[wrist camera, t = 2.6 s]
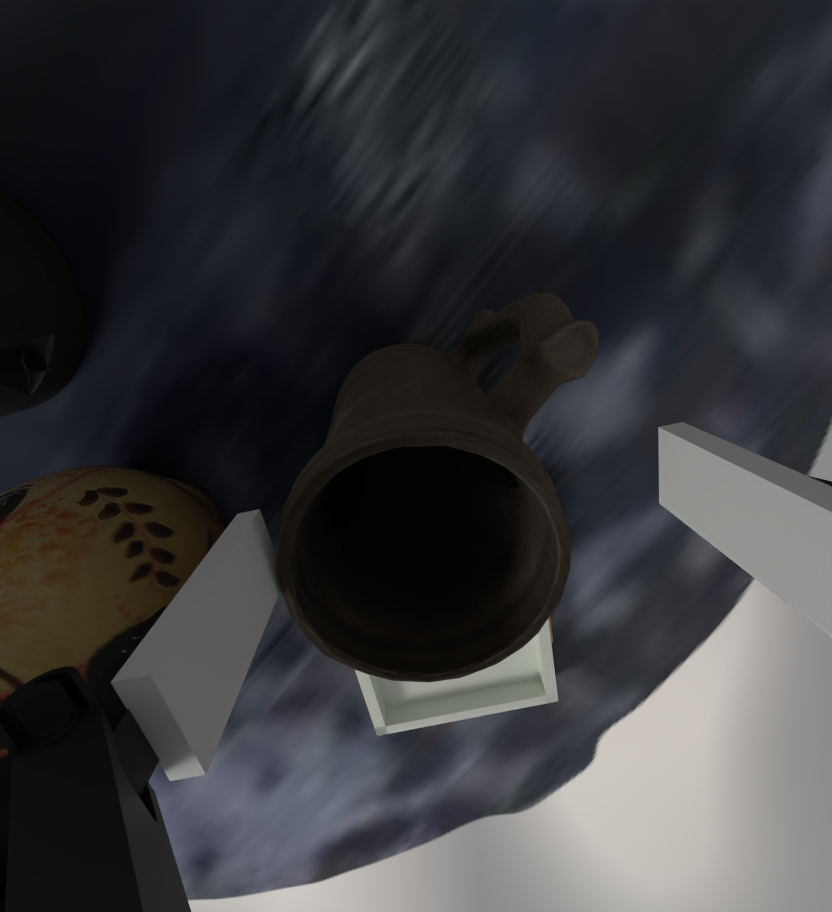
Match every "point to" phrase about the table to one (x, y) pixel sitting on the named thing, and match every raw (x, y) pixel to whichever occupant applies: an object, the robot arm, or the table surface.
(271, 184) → the table surface
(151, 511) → the ceramic jug
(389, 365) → the beer stein
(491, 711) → the tray
